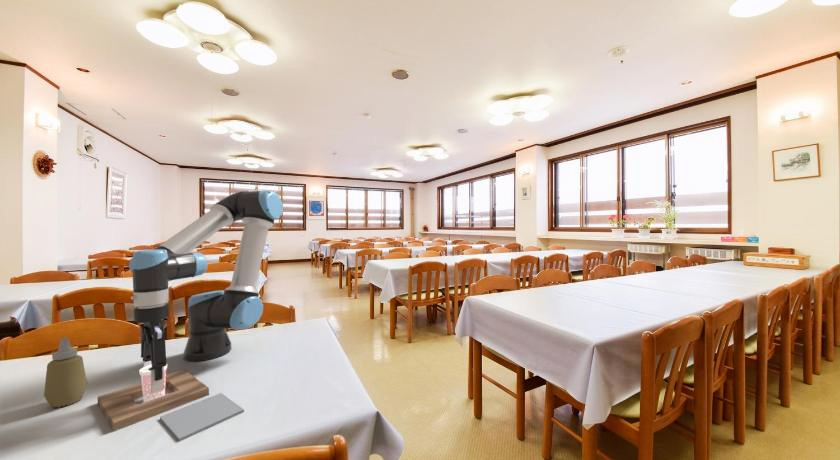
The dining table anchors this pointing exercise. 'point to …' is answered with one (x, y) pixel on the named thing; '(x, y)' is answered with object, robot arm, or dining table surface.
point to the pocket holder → (128, 412)
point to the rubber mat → (200, 416)
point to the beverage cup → (147, 384)
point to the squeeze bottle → (65, 376)
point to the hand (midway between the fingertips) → (154, 387)
